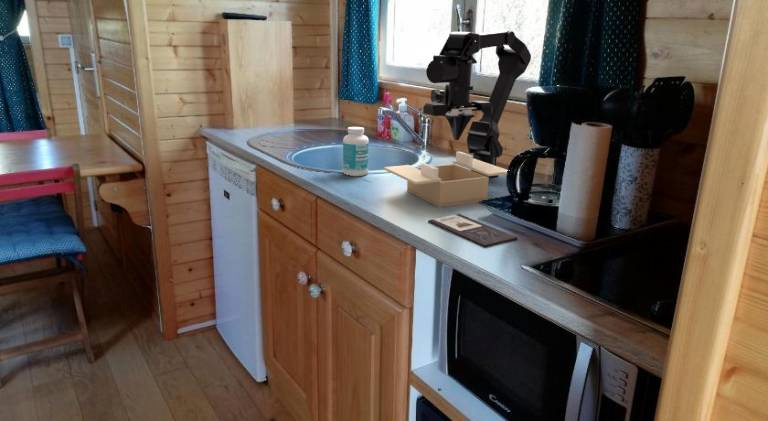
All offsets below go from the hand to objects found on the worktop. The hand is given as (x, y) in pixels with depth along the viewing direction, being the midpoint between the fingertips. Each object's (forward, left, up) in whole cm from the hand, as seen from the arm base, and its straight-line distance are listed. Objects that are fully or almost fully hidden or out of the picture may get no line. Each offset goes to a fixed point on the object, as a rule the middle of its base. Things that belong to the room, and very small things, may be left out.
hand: (456, 140), depth 157 cm
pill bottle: (+21, -20, -12) cm, 31 cm away
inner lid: (-1, +10, -6) cm, 12 cm away
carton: (+9, +10, -12) cm, 18 cm away
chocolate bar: (+19, +35, -13) cm, 42 cm away
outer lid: (+19, +10, -6) cm, 23 cm away
